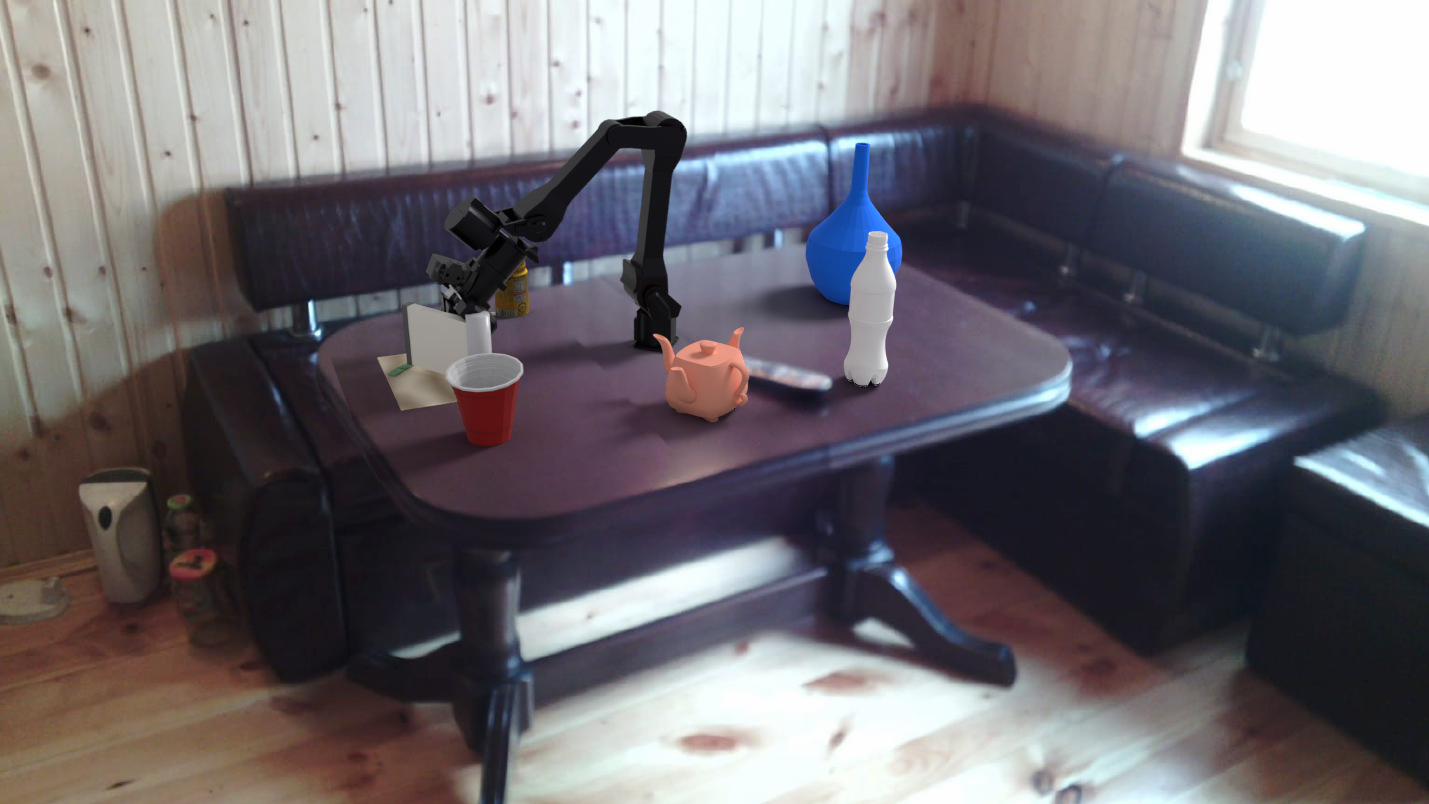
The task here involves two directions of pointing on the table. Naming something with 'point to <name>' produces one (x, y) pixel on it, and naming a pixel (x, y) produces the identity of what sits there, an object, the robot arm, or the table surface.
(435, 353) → the white panel grey edge
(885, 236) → the water bottle
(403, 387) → the board
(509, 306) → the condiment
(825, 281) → the vase
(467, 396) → the plastic cup
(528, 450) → the table surface
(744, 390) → the teapot
